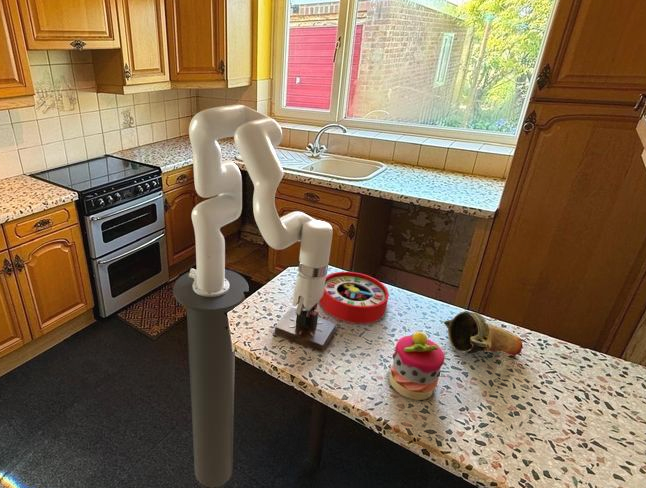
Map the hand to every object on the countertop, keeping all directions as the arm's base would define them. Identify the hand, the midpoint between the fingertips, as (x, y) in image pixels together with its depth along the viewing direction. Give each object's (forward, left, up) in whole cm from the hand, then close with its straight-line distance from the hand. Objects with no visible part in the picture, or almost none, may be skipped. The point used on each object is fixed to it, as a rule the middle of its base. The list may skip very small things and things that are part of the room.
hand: (306, 322), depth 112 cm
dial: (0, 0, -1) cm, 1 cm away
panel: (0, 0, -3) cm, 3 cm away
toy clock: (+7, +21, -3) cm, 22 cm away
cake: (+29, -4, -3) cm, 30 cm away
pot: (+41, +18, -3) cm, 45 cm away
